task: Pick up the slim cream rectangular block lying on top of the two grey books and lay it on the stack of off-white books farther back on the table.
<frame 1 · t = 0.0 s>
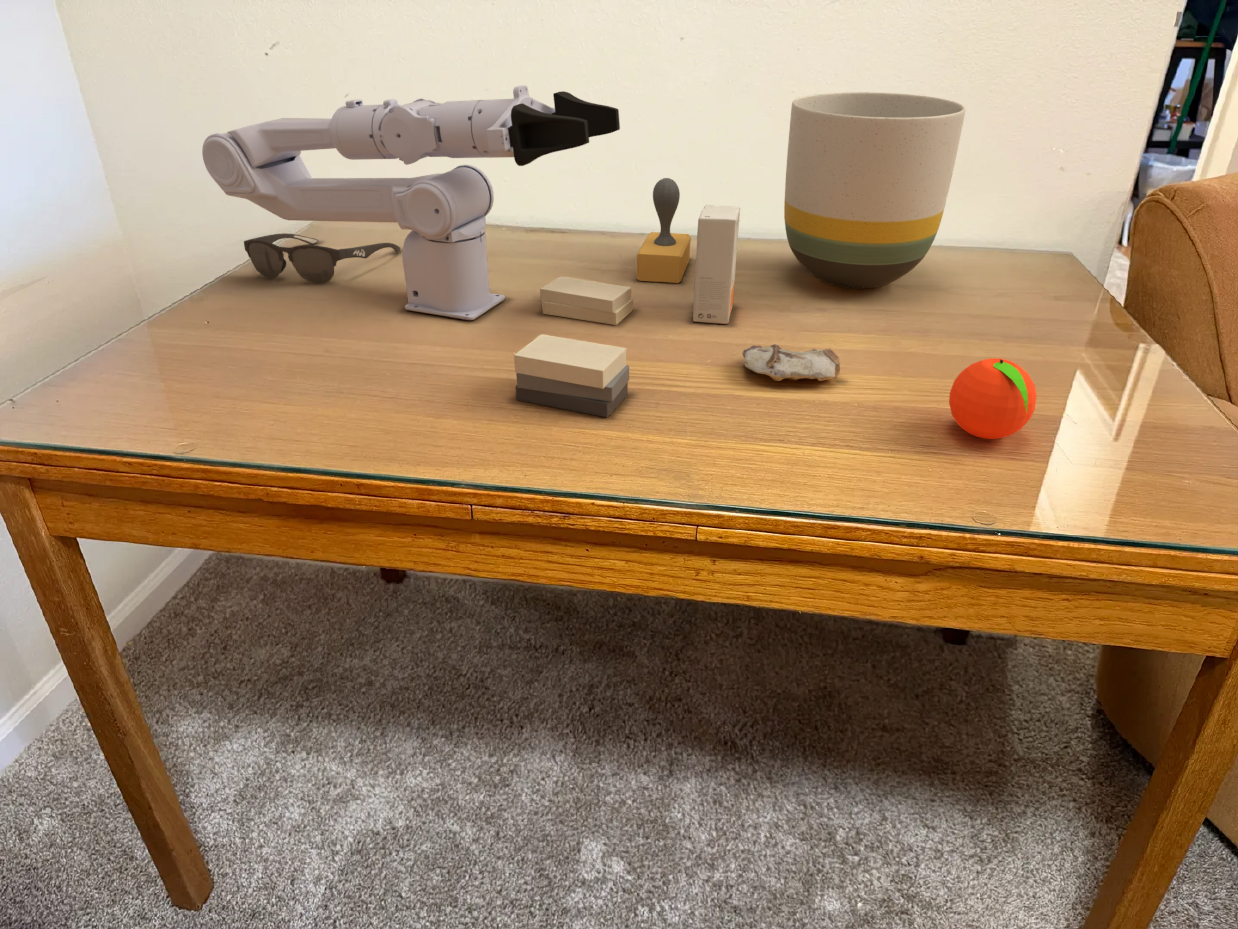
hand: (603, 125, 85), 22 cm above the table, tool horizontal, fingers open, 7 cm apart
stone: (788, 376, 85), on the table
cosmetic box: (713, 316, 100), on the table
white books: (587, 312, 100), on the table
planter: (851, 282, 110), on the table
clementine: (986, 438, 74), on the table
cream rectangular block: (571, 369, 80), point 3 cm above the table, touching grey books
grey books: (572, 397, 81), on the table
sunglasses: (326, 264, 116), on the table
rubber stamp: (664, 271, 114), on the table
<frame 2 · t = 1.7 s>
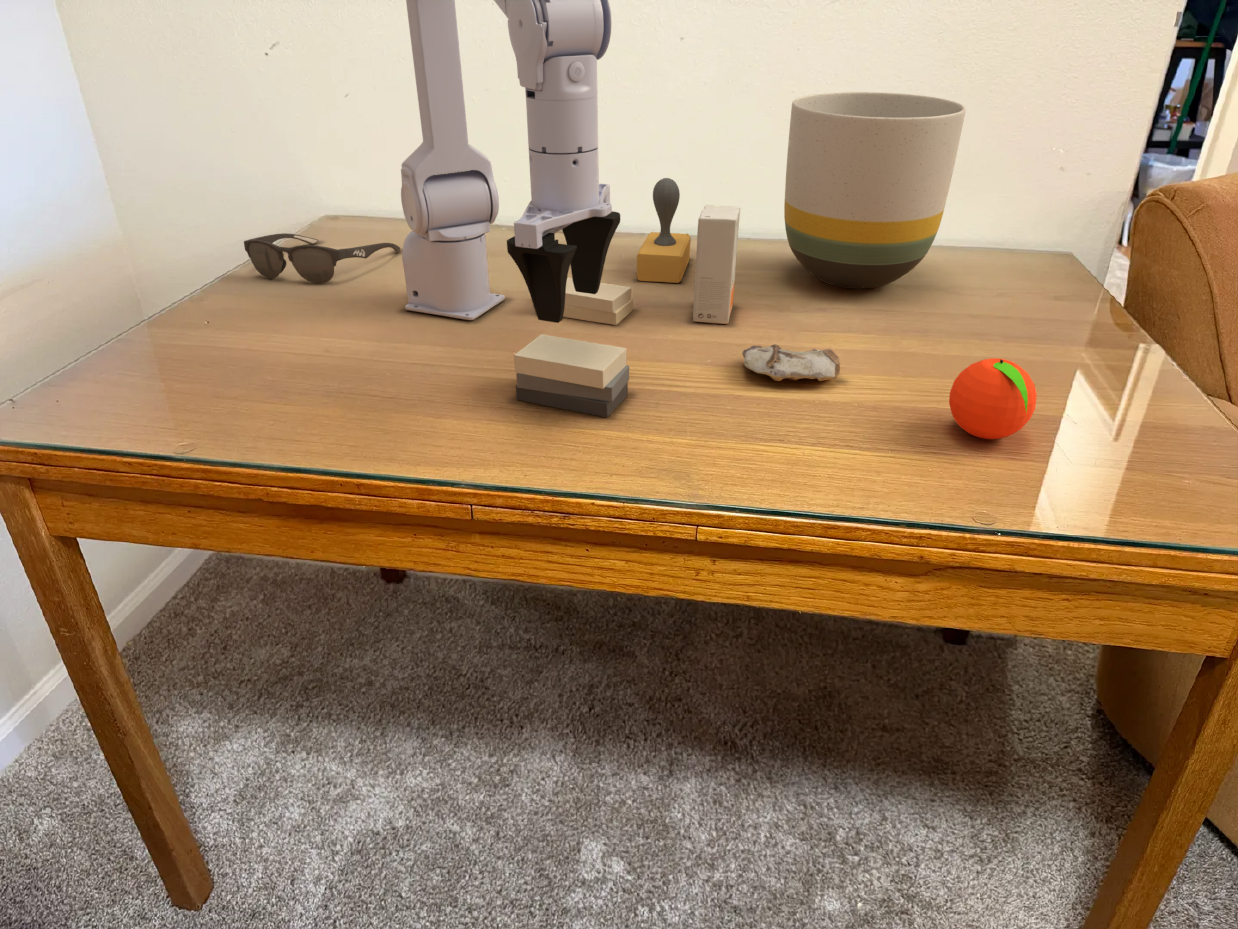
hand: (569, 305, 76), 9 cm above the table, tool pointing down, fingers open, 7 cm apart
nothing on the table moved.
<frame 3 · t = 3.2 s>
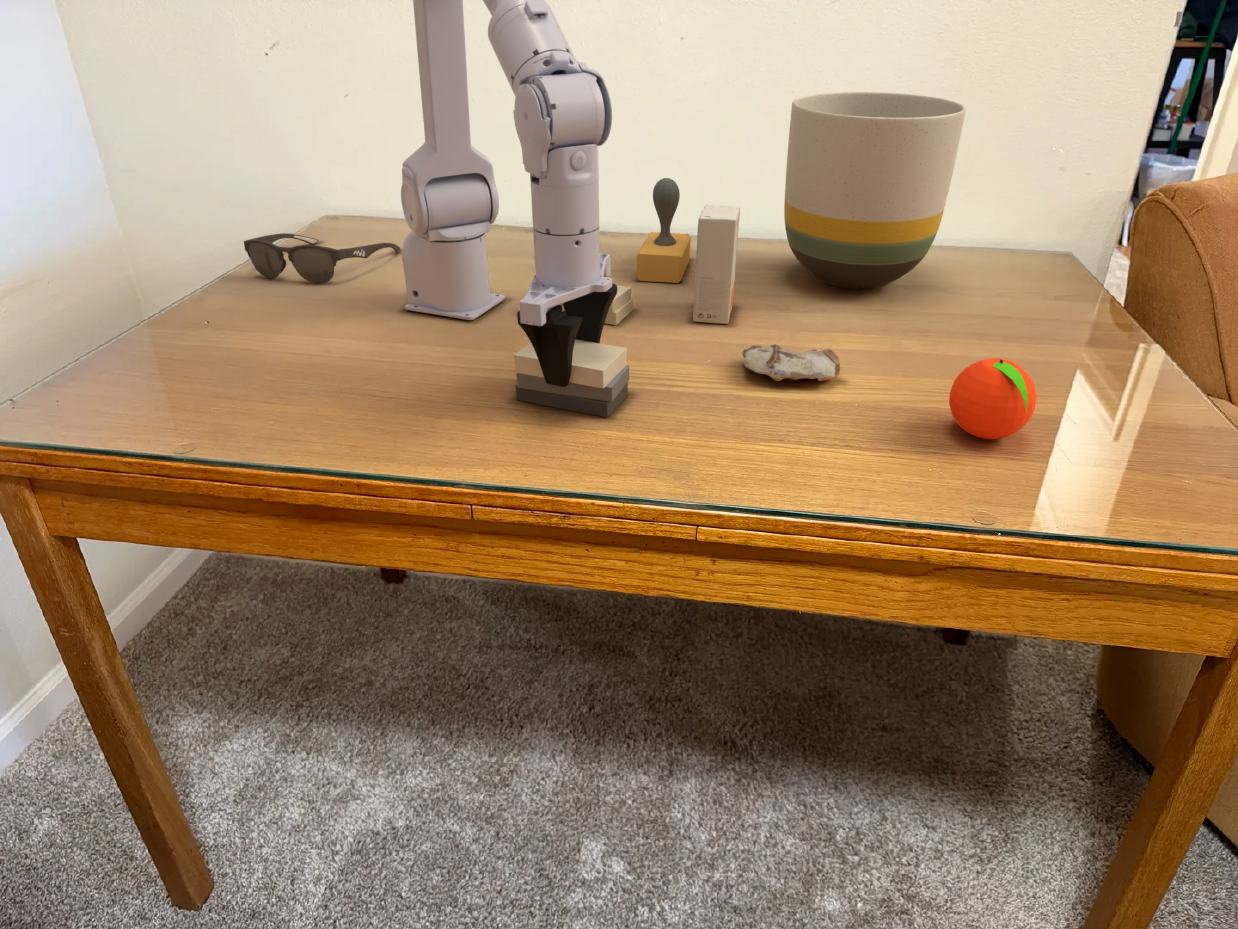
hand: (571, 370, 80), 3 cm above the table, tool pointing down, fingers closed on cream rectangular block, 5 cm apart
cream rectangular block: (571, 368, 80), point 3 cm above the table, touching grey books, gripper
everything else where it was.
when the fingers open (3 cm above the table, at t = 8.2 s): cream rectangular block stays where it is, resting on white books.
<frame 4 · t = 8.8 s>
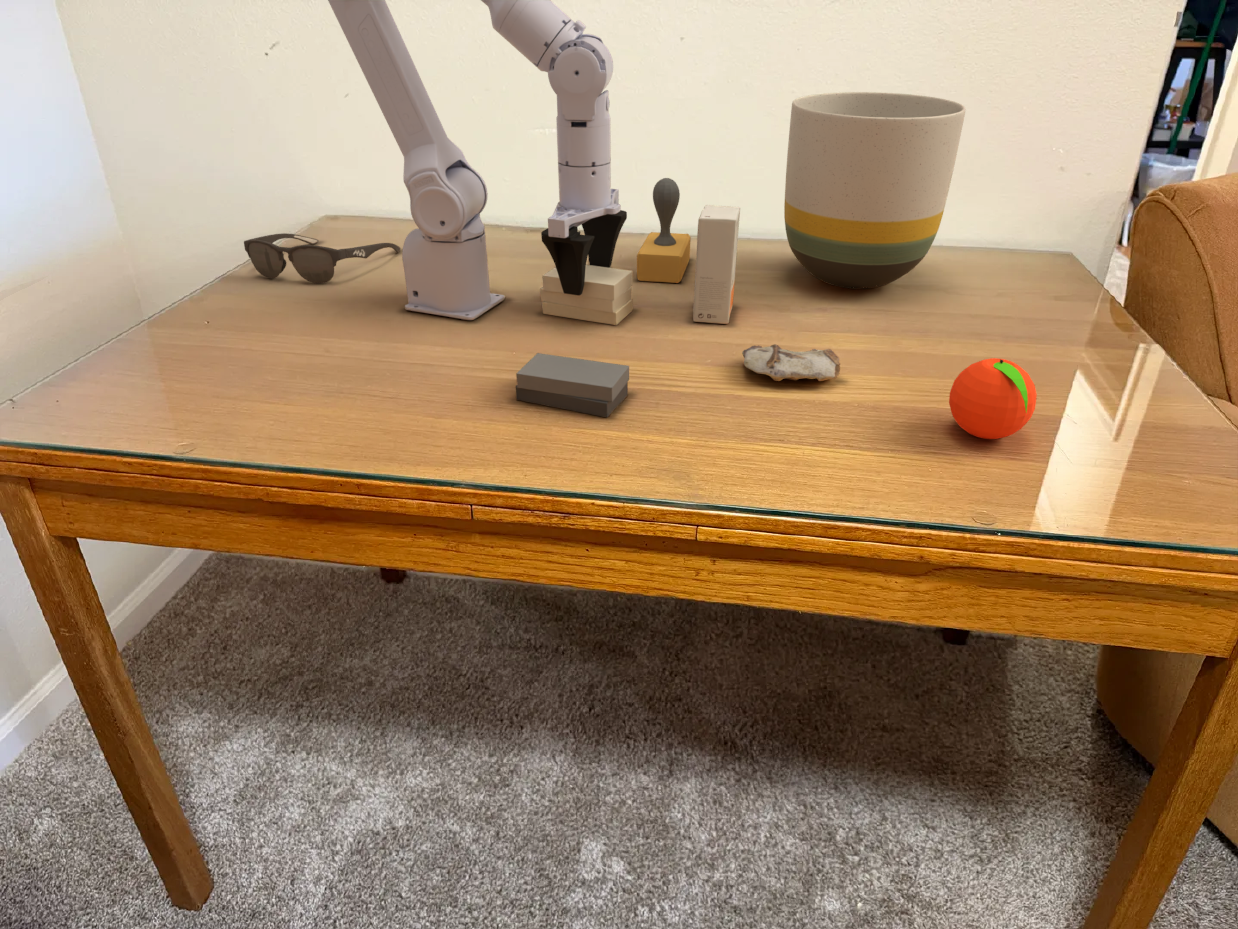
hand: (586, 283, 98), 4 cm above the table, tool pointing down, fingers open, 7 cm apart
cream rectangular block: (588, 287, 99), point 3 cm above the table, touching white books
everything else where it was.
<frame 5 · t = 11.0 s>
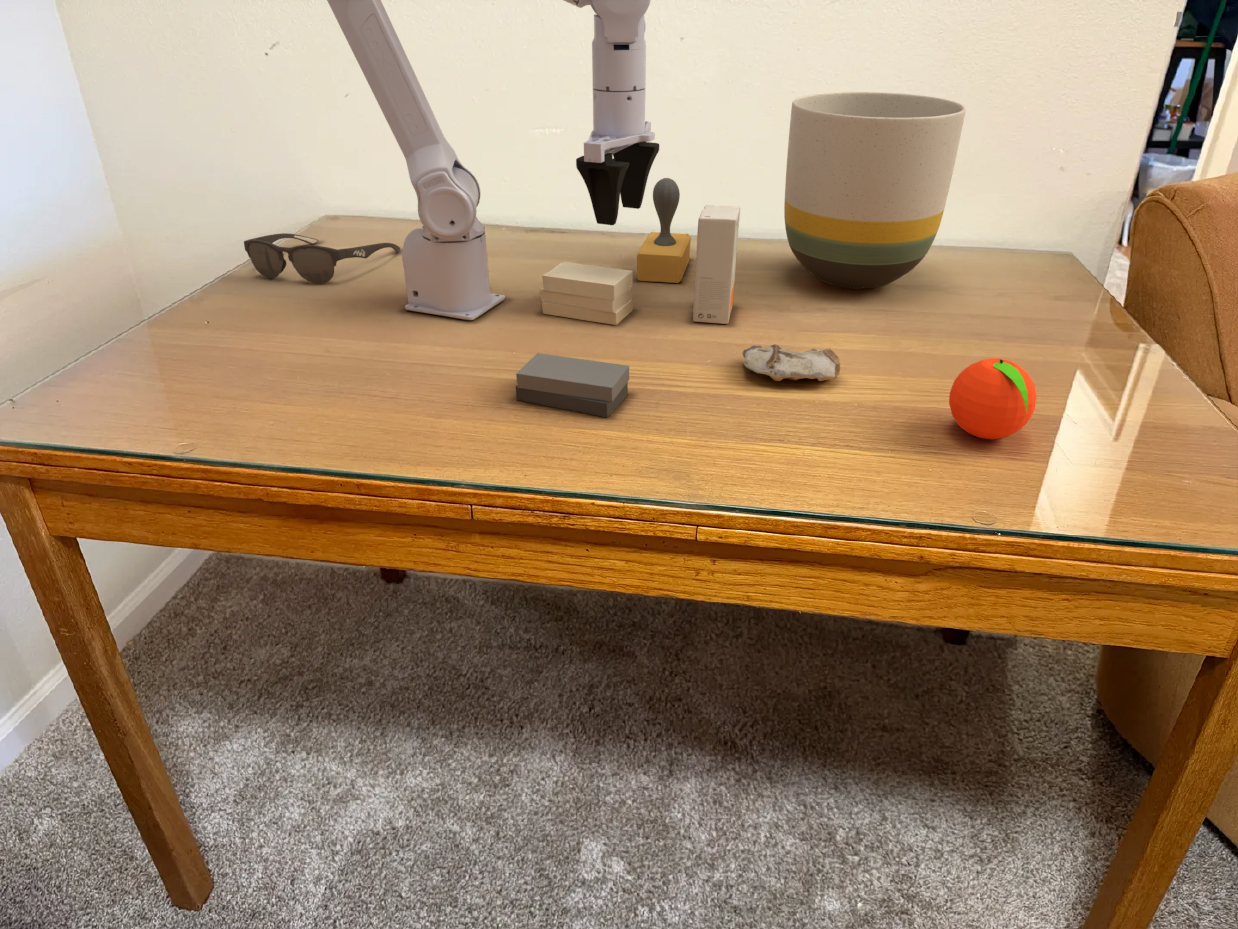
hand: (619, 215, 98), 10 cm above the table, tool pointing down, fingers open, 7 cm apart
nothing on the table moved.
at the end: cream rectangular block 0.1 cm off-centre on the white books, point 3.0 cm above the white books's base; cream rectangular block tilted 0°; the gripper is holding nothing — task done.
